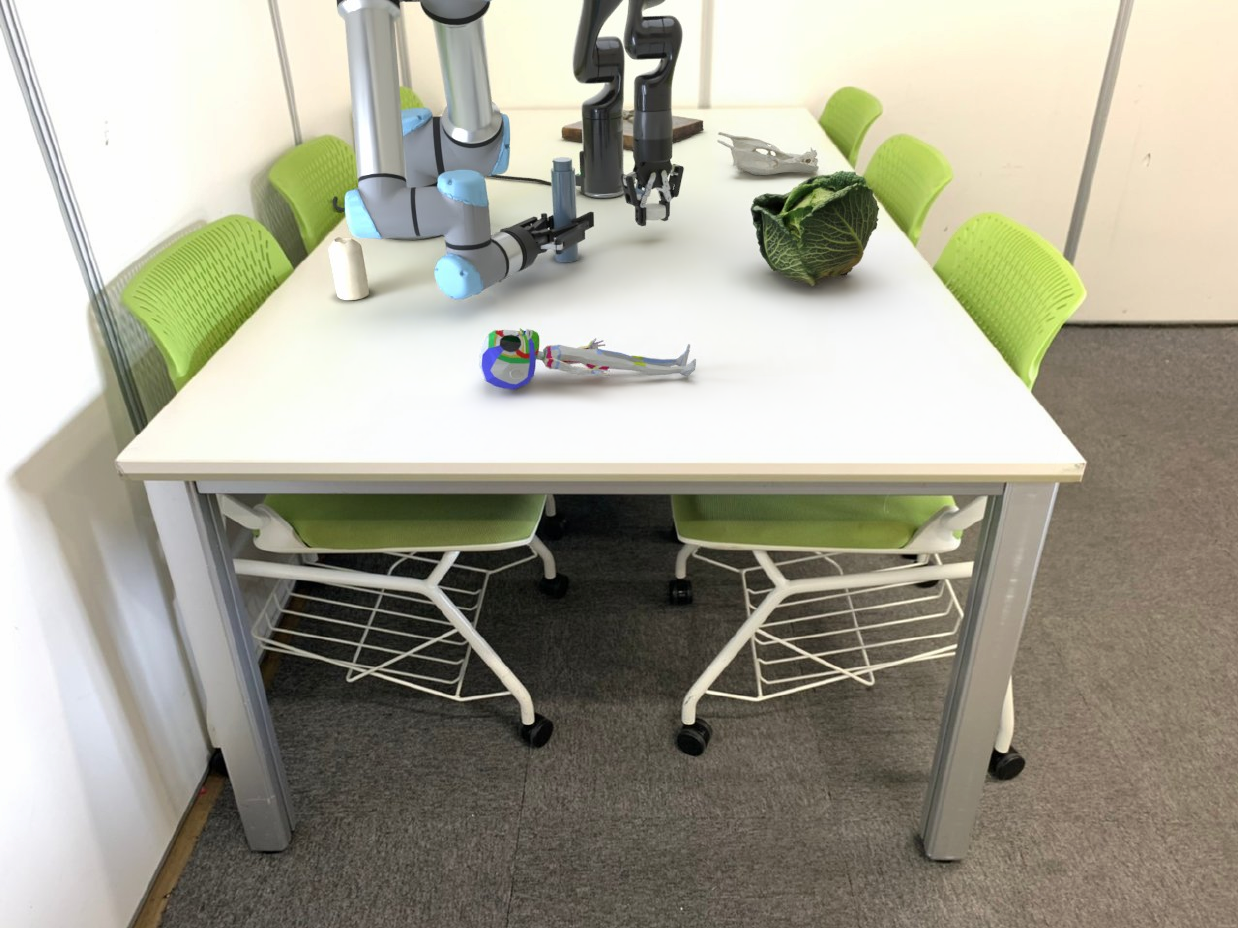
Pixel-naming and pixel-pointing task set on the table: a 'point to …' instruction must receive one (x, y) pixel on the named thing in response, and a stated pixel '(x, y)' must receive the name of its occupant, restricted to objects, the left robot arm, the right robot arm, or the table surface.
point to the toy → (561, 359)
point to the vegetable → (816, 226)
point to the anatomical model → (767, 157)
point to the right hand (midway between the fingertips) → (652, 222)
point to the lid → (655, 211)
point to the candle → (348, 269)
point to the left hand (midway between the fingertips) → (580, 217)
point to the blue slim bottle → (564, 201)
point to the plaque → (680, 129)
